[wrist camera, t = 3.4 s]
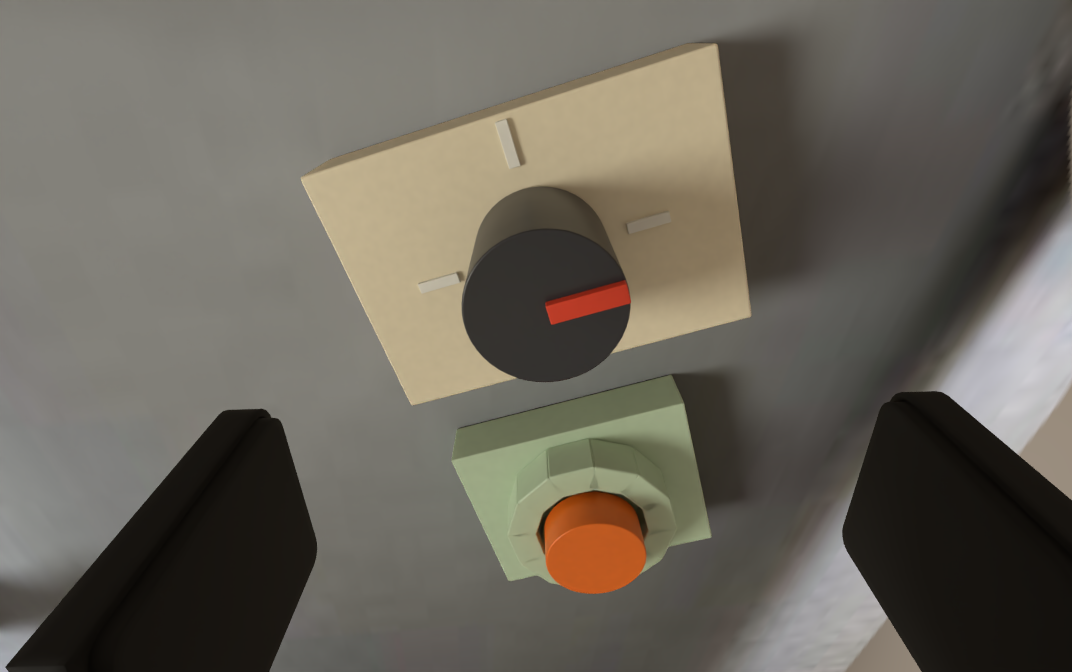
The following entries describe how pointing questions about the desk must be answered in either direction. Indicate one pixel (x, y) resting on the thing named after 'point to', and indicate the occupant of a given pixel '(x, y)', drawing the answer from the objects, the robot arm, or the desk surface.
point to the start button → (594, 543)
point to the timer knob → (544, 287)
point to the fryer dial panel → (551, 161)
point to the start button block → (584, 470)
